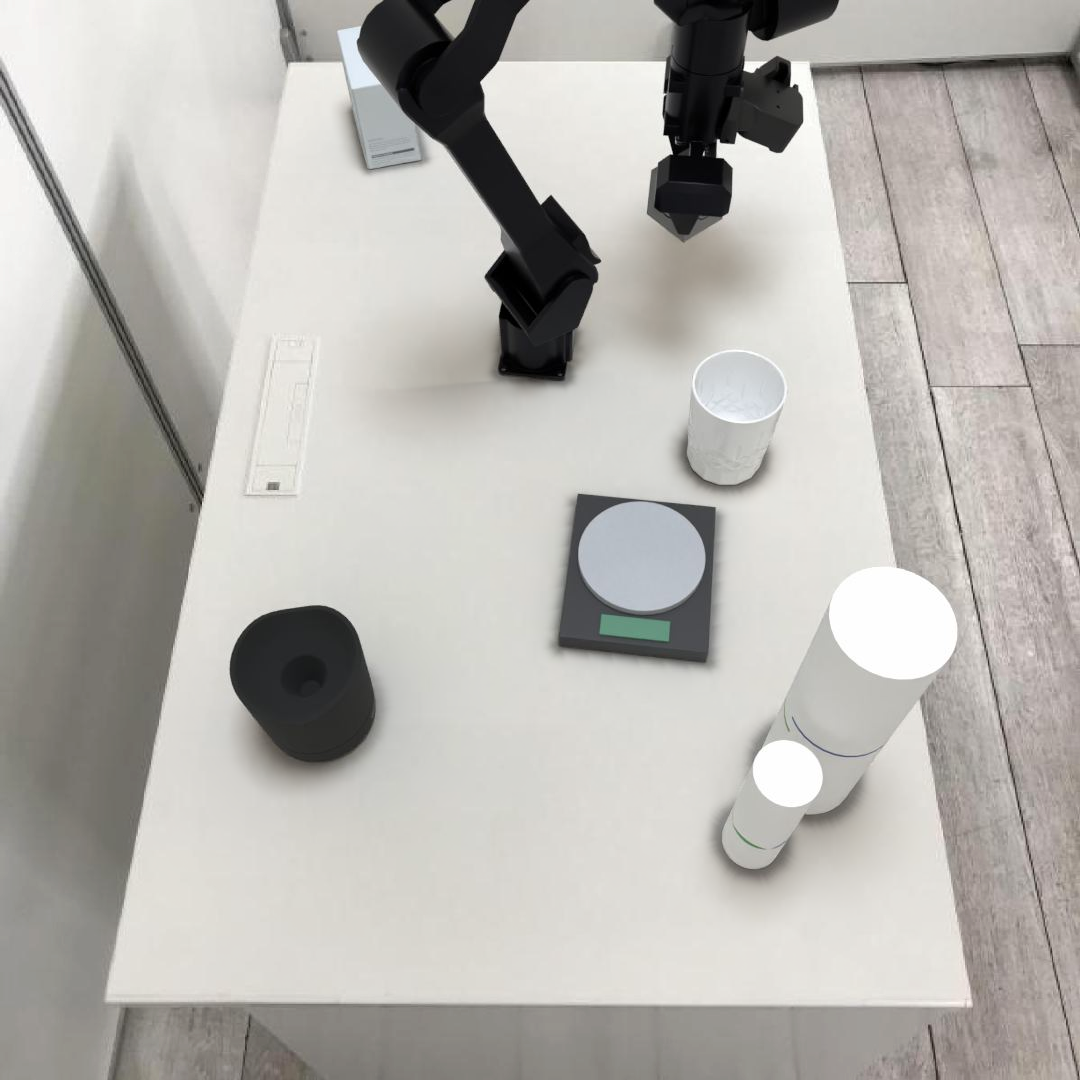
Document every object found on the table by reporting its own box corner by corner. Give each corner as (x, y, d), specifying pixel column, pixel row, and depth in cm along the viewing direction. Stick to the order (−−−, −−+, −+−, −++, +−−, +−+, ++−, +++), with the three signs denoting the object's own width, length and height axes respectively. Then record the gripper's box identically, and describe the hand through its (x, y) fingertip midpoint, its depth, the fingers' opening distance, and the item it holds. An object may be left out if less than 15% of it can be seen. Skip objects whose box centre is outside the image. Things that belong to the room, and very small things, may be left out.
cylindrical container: (793, 831, 79) (880, 700, 58) (740, 749, 83) (804, 598, 61) (871, 787, 81) (984, 645, 59) (816, 709, 84) (904, 547, 63)
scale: (558, 646, 87) (558, 632, 85) (577, 504, 95) (578, 487, 92) (705, 662, 86) (709, 648, 84) (713, 517, 94) (717, 501, 91)
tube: (717, 813, 80) (747, 743, 67) (773, 808, 80) (814, 737, 67) (727, 871, 78) (760, 810, 65) (785, 866, 78) (829, 803, 65)
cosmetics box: (351, 112, 123) (335, 27, 114) (406, 103, 124) (394, 18, 115) (365, 171, 118) (349, 87, 109) (422, 161, 119) (411, 77, 110)
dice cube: (683, 242, 98) (690, 199, 93) (646, 213, 100) (651, 169, 95) (722, 218, 99) (730, 175, 95) (685, 190, 101) (691, 146, 97)
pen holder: (332, 791, 81) (306, 745, 73) (238, 730, 84) (202, 679, 76) (404, 694, 85) (387, 639, 77) (312, 638, 88) (285, 580, 80)
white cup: (762, 498, 95) (783, 429, 86) (674, 484, 96) (686, 414, 87) (771, 428, 99) (791, 356, 90) (686, 415, 100) (698, 343, 91)
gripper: (811, 136, 80) (772, 288, 93) (806, -7, 90) (772, 148, 103) (663, 126, 81) (645, 277, 94) (674, -16, 90) (657, 140, 104)
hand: (685, 208), depth 99 cm, fingers closed on dice cube, 6 cm apart
